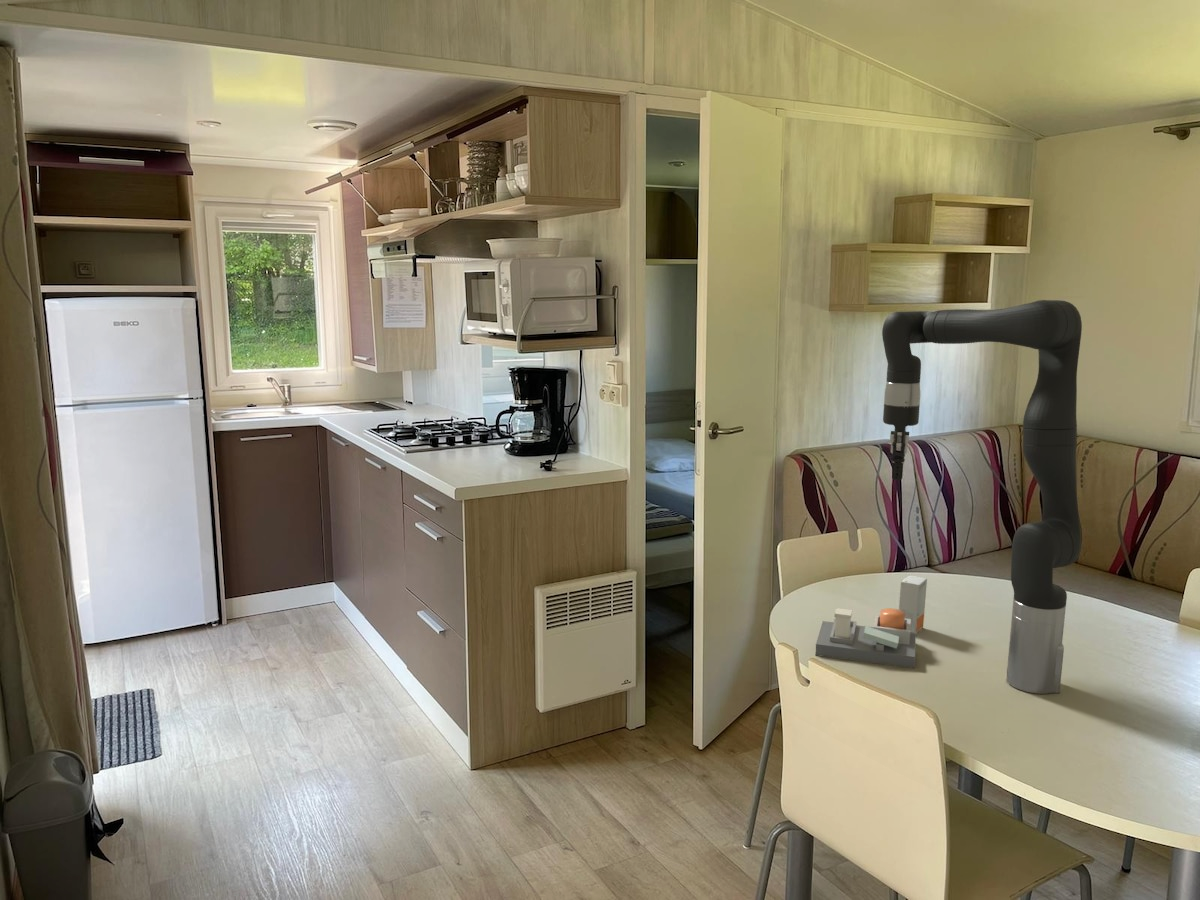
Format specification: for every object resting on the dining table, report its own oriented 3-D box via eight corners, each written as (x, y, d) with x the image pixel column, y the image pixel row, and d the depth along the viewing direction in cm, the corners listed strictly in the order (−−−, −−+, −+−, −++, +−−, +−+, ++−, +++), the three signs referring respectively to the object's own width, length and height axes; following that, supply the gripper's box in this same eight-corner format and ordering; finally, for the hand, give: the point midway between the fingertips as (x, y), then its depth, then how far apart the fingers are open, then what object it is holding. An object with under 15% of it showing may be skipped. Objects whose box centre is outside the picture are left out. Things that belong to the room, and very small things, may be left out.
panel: (914, 643, 197) (916, 619, 196) (914, 668, 184) (916, 643, 183) (822, 631, 204) (823, 608, 203) (815, 655, 191) (816, 630, 190)
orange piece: (903, 631, 196) (905, 609, 195) (903, 640, 192) (904, 617, 191) (879, 628, 198) (881, 607, 197) (878, 636, 193) (880, 615, 192)
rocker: (897, 641, 190) (898, 636, 189) (896, 648, 186) (898, 643, 186) (864, 630, 192) (865, 625, 191) (862, 637, 188) (864, 632, 188)
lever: (850, 635, 194) (852, 610, 193) (849, 641, 191) (851, 615, 190) (834, 633, 195) (836, 608, 194) (833, 639, 192) (834, 613, 191)
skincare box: (915, 635, 201) (919, 585, 199) (896, 631, 204) (900, 581, 202) (924, 627, 206) (927, 578, 204) (905, 623, 209) (908, 574, 206)
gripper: (919, 407, 190) (914, 486, 193) (919, 399, 202) (914, 474, 205) (882, 405, 192) (878, 484, 195) (885, 398, 204) (880, 472, 208)
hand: (897, 479), depth 200 cm, fingers closed
